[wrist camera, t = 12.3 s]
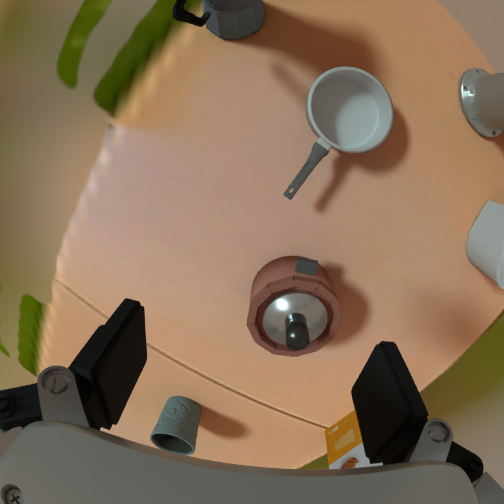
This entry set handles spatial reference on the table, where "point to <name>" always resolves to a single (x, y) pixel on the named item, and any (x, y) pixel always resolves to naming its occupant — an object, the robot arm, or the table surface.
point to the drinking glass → (177, 426)
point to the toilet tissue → (488, 242)
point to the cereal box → (346, 444)
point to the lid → (295, 318)
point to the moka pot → (225, 17)
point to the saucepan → (345, 116)
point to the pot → (283, 279)
